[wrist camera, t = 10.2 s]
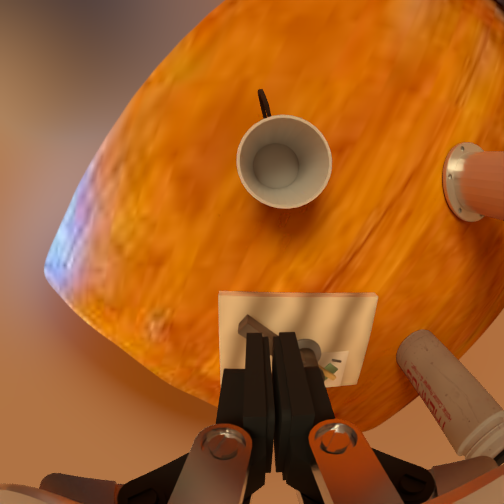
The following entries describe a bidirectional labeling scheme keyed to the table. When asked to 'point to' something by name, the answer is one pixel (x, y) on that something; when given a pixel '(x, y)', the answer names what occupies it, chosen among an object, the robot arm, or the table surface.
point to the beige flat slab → (302, 327)
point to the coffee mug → (283, 160)
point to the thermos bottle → (453, 397)
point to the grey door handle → (254, 326)
